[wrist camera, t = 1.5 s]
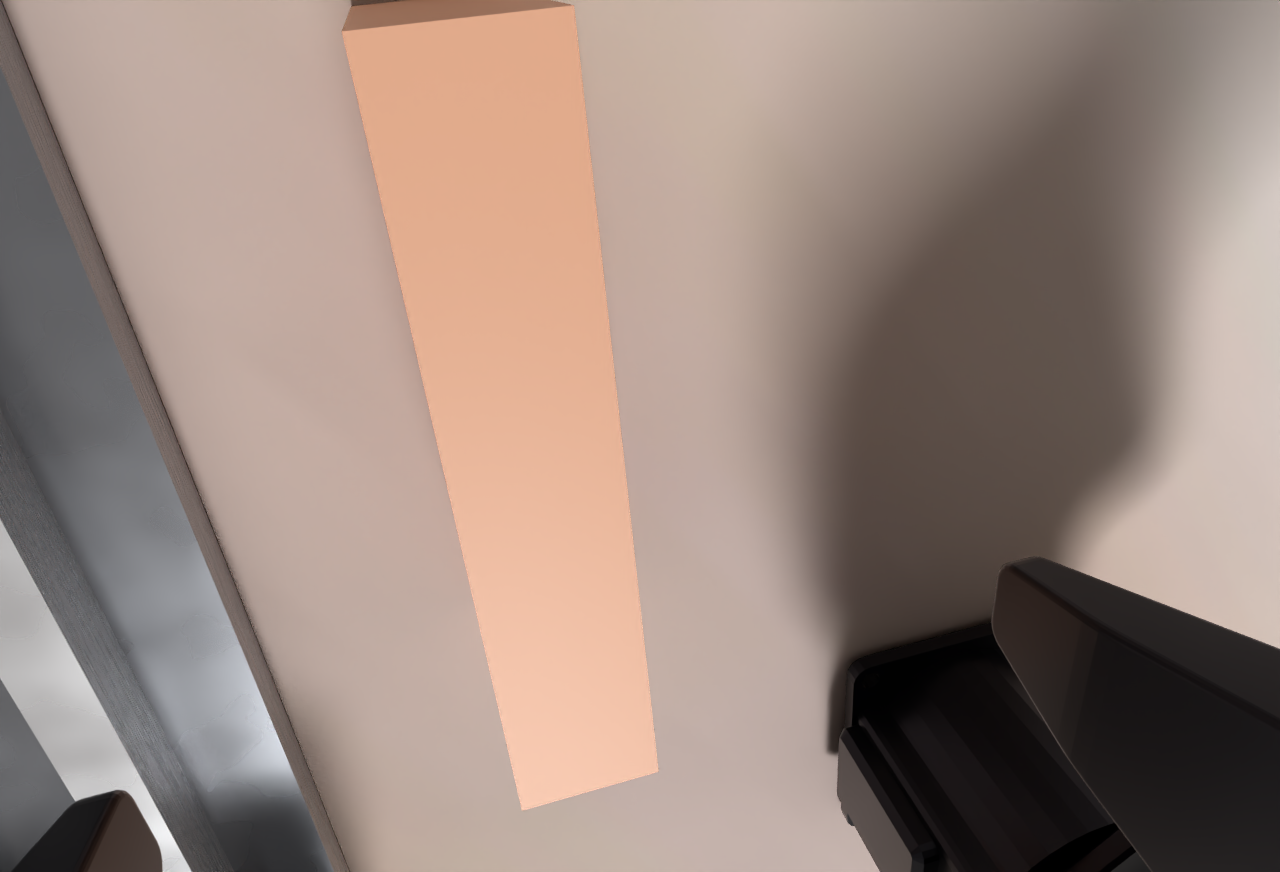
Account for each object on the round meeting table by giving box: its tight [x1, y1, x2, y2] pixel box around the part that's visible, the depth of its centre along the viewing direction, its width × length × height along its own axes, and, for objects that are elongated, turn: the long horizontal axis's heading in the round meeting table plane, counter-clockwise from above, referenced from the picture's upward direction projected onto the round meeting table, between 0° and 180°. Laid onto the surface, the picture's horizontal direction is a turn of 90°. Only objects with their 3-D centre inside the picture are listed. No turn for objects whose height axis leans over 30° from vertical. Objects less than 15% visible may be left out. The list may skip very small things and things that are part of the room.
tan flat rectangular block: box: [342, 0, 659, 811], centre depth 15 cm, size 2×12×6 cm, turn 5°
